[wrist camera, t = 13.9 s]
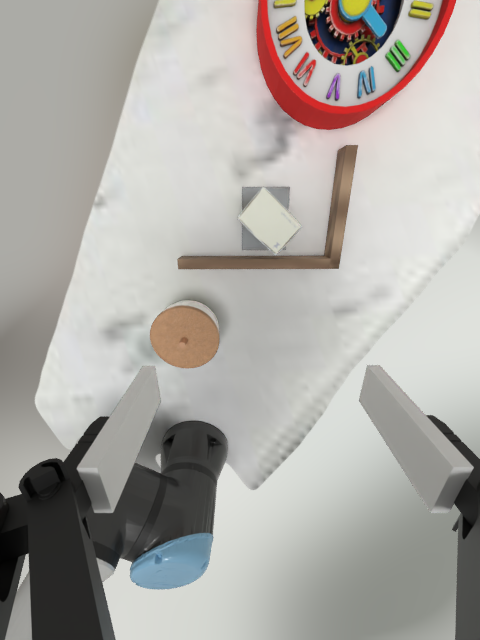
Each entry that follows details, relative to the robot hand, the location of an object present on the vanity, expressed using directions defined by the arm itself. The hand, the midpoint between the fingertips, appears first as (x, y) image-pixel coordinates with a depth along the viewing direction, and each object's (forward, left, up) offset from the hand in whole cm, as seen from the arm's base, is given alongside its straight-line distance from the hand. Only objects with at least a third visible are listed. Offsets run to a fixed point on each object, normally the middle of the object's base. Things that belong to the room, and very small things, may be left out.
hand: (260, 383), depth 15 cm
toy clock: (+30, -11, -29) cm, 43 cm away
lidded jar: (-8, +10, -29) cm, 32 cm away
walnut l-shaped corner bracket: (+10, -1, -29) cm, 30 cm away
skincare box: (+9, -2, -28) cm, 30 cm away
